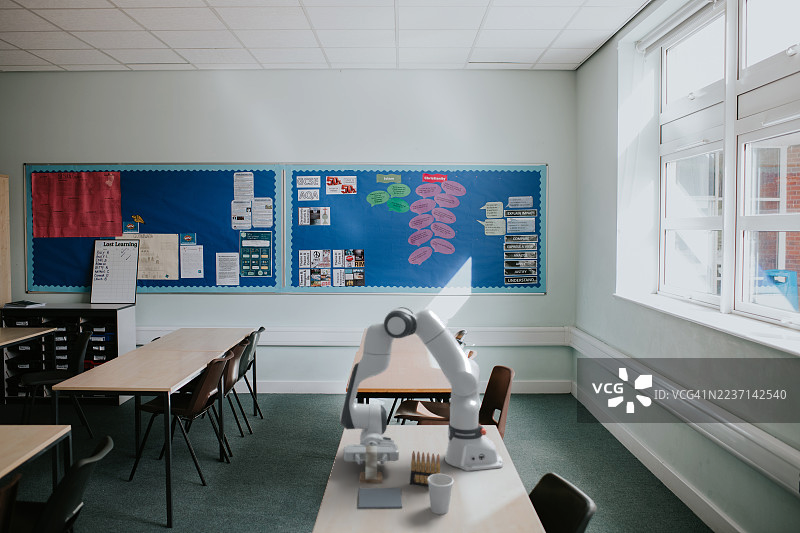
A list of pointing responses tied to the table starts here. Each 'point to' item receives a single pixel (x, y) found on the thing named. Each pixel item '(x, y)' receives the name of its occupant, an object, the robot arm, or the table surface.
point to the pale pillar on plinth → (371, 467)
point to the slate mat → (379, 498)
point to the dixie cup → (440, 492)
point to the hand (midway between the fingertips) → (371, 462)
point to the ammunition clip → (423, 469)
